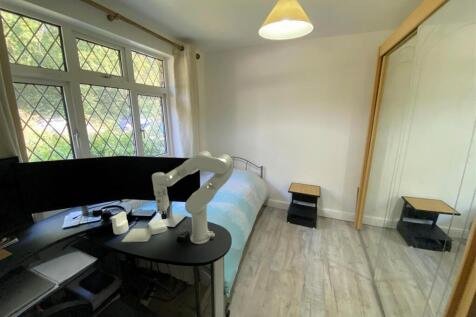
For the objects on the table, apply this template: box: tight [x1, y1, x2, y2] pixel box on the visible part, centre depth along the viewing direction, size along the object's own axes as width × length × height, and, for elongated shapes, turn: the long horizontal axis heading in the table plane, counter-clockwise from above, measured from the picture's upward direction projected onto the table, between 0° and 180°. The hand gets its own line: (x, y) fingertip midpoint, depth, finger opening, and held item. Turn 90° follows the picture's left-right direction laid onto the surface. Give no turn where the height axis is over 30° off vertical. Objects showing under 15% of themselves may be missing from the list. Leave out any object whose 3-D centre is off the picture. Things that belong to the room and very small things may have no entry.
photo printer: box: [147, 219, 168, 235], centre depth 137 cm, size 10×4×12 cm
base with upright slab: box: [111, 211, 130, 235], centre depth 135 cm, size 9×9×12 cm
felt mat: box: [121, 227, 153, 243], centre depth 131 cm, size 16×14×1 cm
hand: (164, 218), depth 128 cm, fingers closed
